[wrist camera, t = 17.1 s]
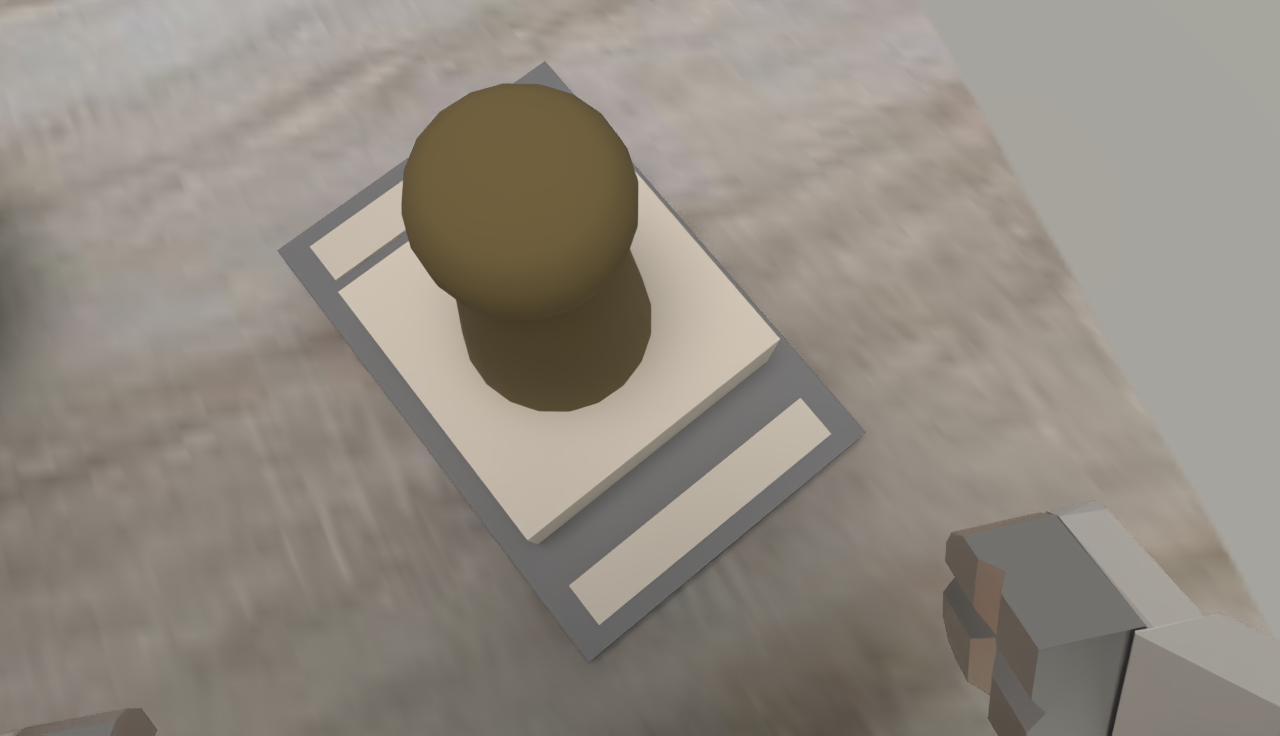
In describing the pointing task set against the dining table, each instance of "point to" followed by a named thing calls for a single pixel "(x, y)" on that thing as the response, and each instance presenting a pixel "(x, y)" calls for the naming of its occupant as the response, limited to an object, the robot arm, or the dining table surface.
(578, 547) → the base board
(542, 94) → the cork
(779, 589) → the dining table surface
